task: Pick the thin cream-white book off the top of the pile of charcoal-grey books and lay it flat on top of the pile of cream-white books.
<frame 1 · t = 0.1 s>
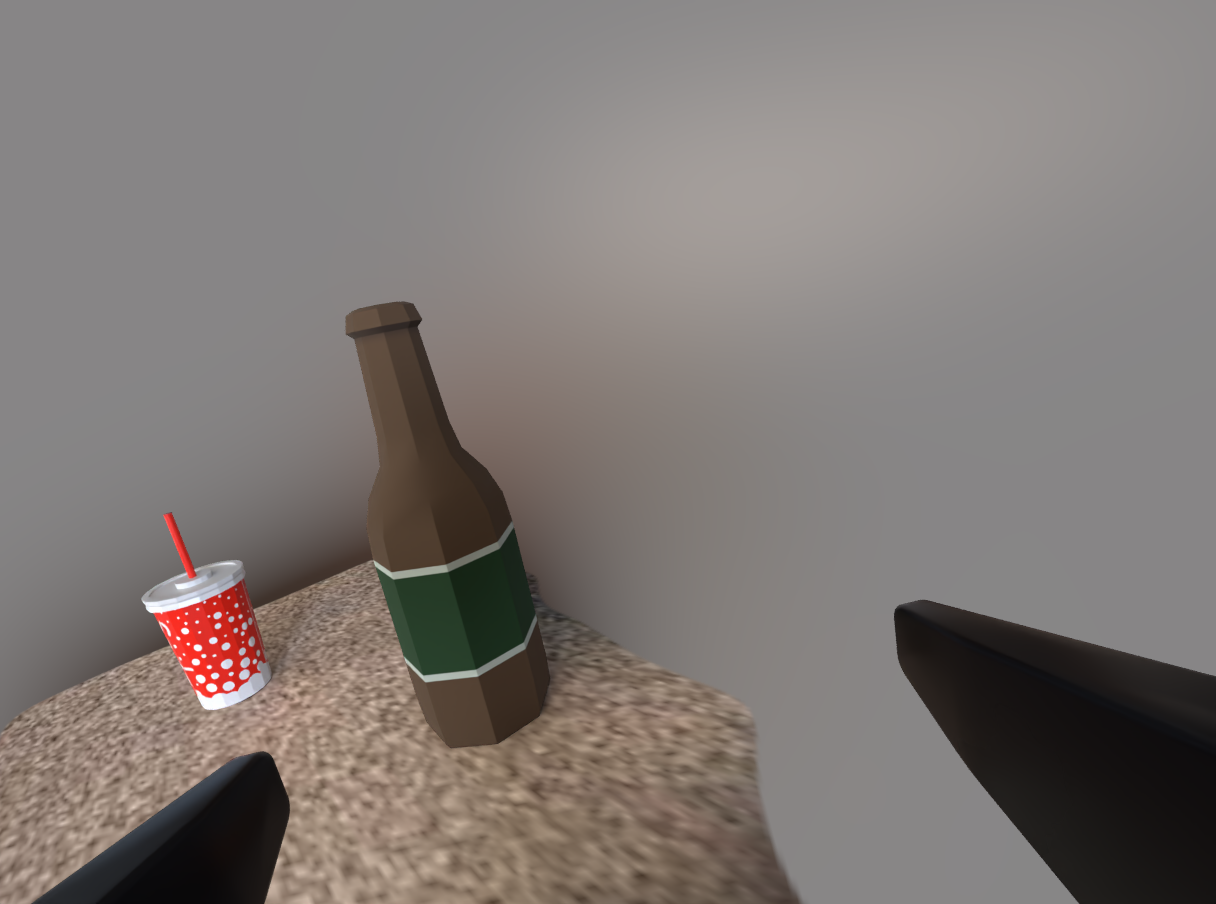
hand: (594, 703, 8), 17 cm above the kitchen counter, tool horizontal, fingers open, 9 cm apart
beverage cup: (238, 690, 44), on the kitchen counter
beer bottle: (492, 708, 36), on the kitchen counter
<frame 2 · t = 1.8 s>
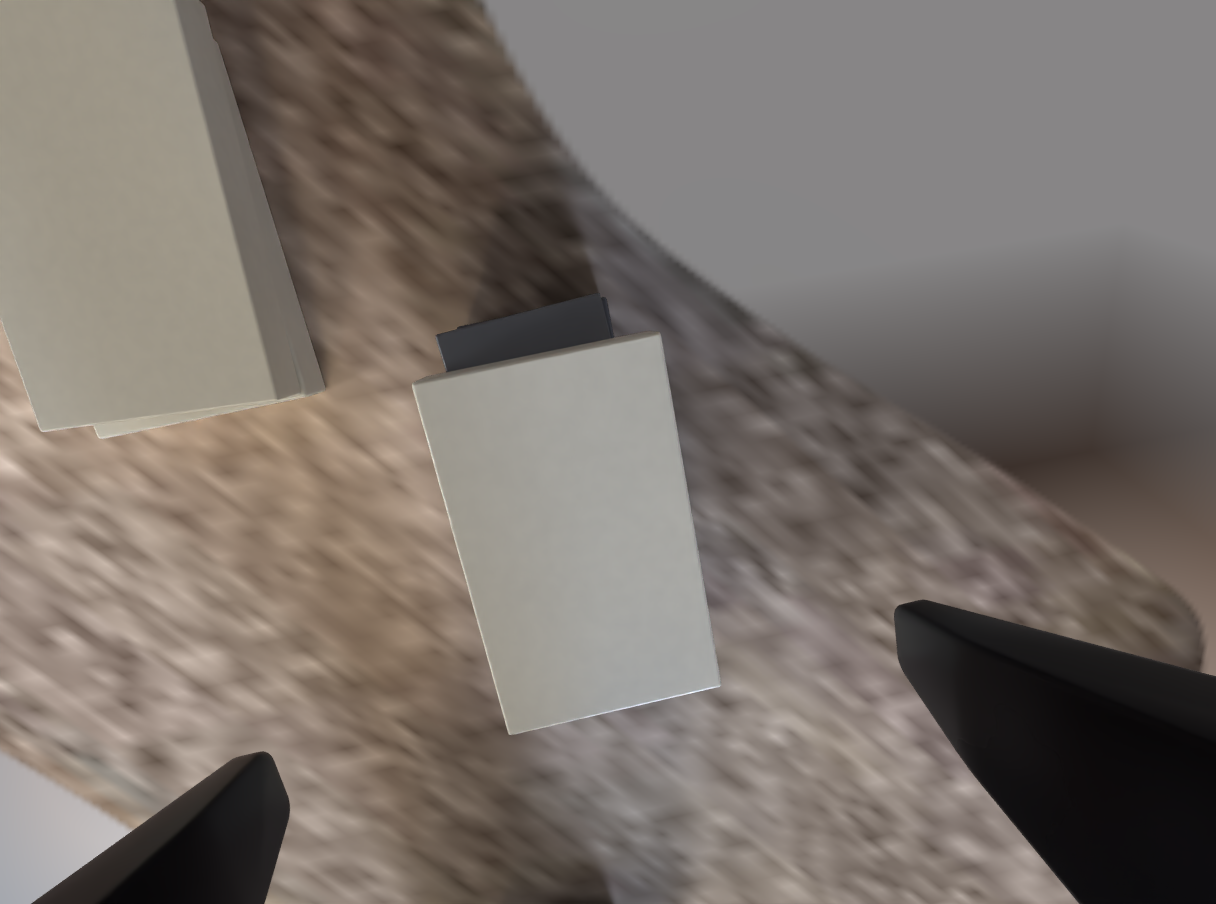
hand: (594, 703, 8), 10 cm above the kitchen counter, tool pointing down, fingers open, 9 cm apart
white pile: (174, 247, 16), on the kitchen counter
white book: (577, 527, 15), point 3 cm above the kitchen counter, touching grey pile
grey pile: (573, 491, 18), on the kitchen counter, touching white book
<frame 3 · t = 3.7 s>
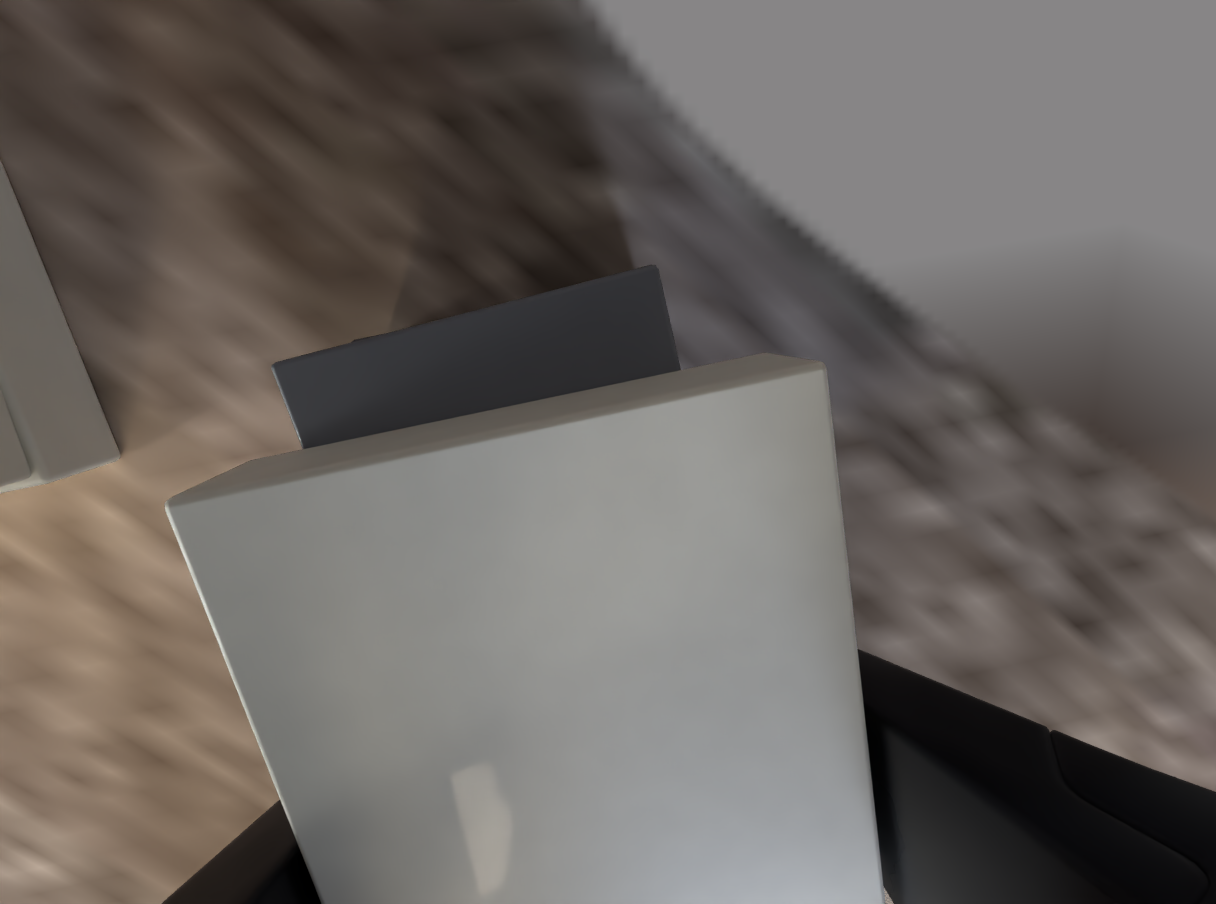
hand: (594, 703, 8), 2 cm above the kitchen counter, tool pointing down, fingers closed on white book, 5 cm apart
white book: (599, 764, 7), point 3 cm above the kitchen counter, touching grey pile, gripper
grey pile: (586, 629, 10), on the kitchen counter, touching white book
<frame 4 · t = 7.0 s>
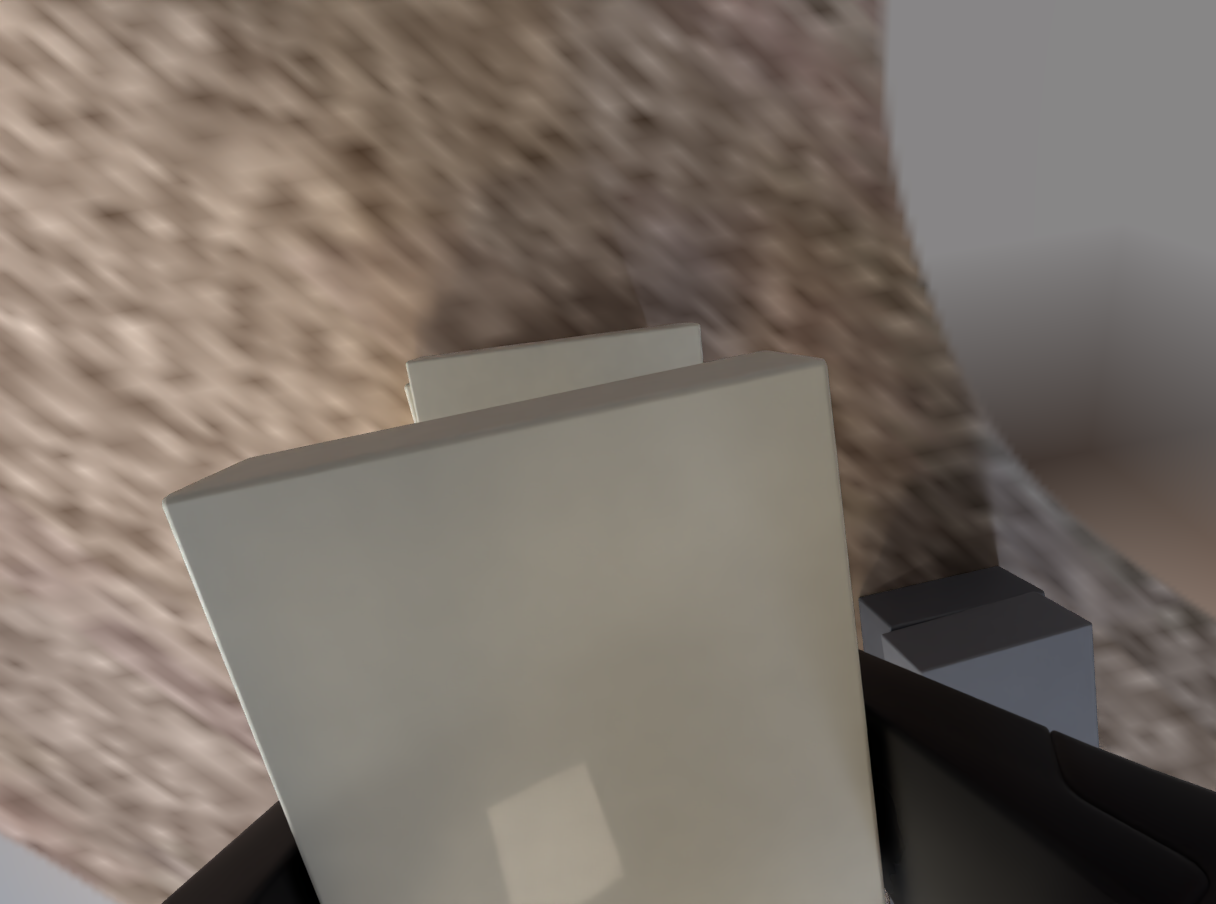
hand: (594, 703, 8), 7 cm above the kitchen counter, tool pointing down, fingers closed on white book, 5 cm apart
white pile: (575, 533, 15), on the kitchen counter
white book: (598, 763, 7), point 8 cm above the kitchen counter, touching gripper
grey pile: (940, 750, 17), on the kitchen counter
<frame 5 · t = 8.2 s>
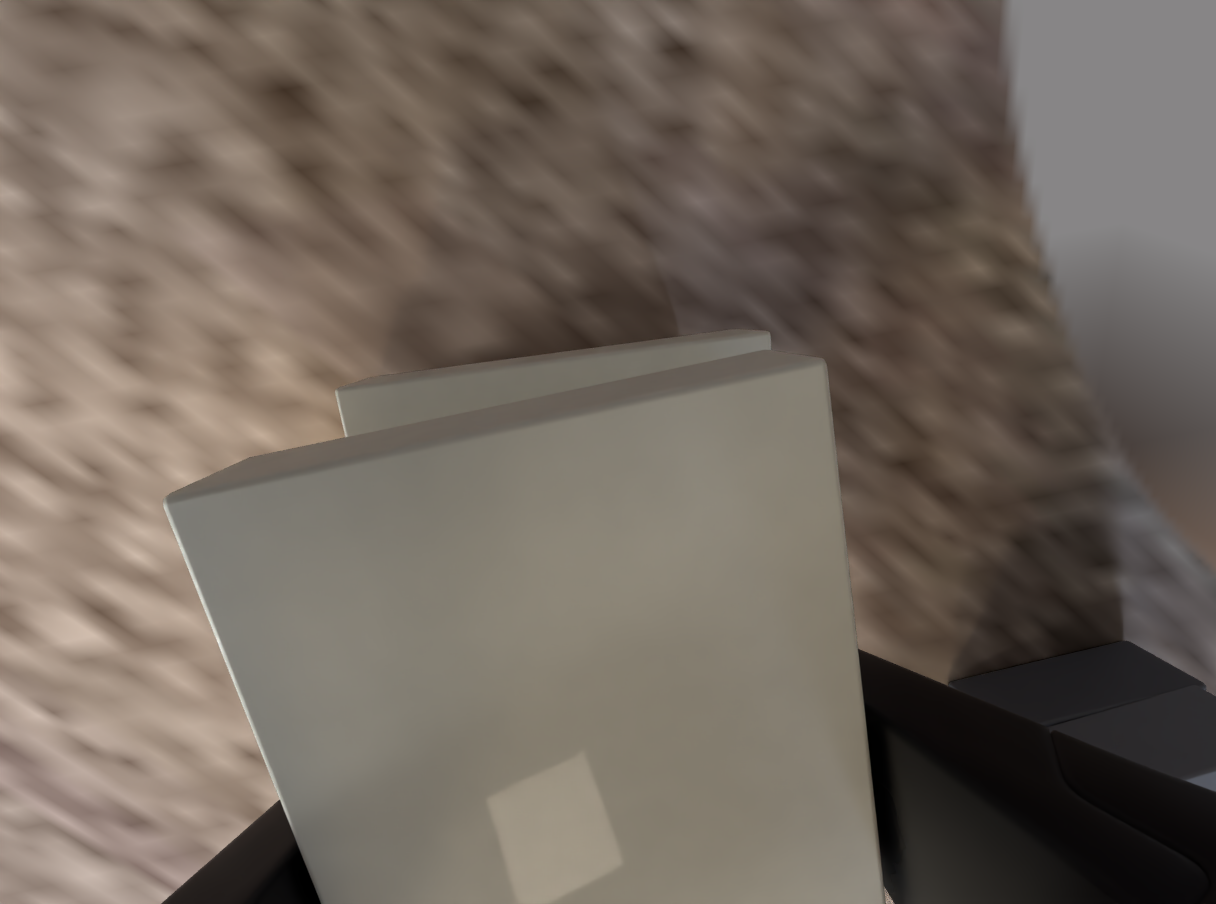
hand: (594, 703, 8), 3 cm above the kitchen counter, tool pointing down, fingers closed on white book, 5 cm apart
white pile: (583, 605, 11), on the kitchen counter
white book: (598, 762, 7), point 4 cm above the kitchen counter, touching gripper
grey pile: (1043, 866, 14), on the kitchen counter
when the fingers open (3 cm above the kitchen counter, at t = 10.4 s): white book drops 1 cm, resting on white pile.
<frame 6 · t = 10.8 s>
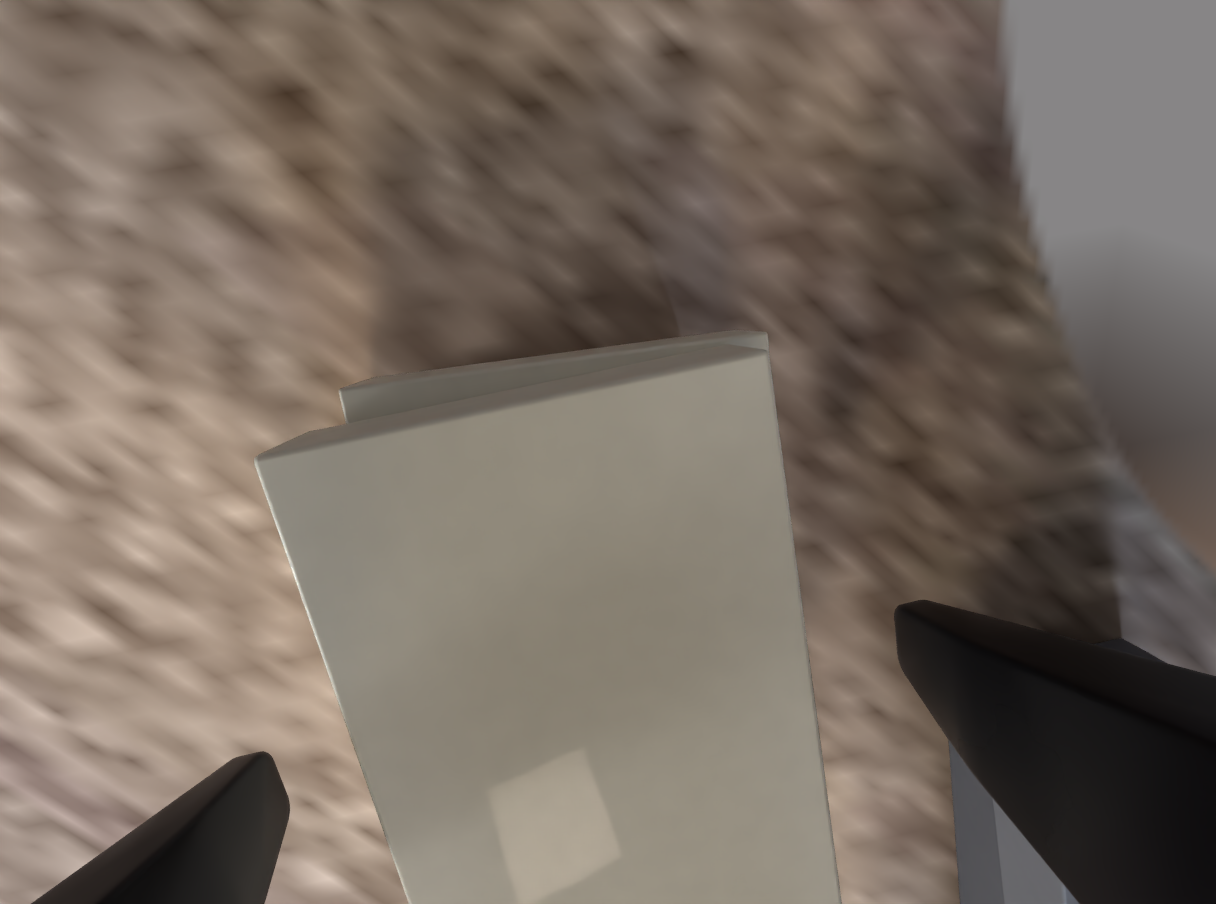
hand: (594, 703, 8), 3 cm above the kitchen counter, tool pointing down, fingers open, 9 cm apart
white pile: (583, 603, 11), on the kitchen counter, touching white book
white book: (592, 691, 9), point 3 cm above the kitchen counter, touching white pile
grey pile: (1038, 862, 14), on the kitchen counter
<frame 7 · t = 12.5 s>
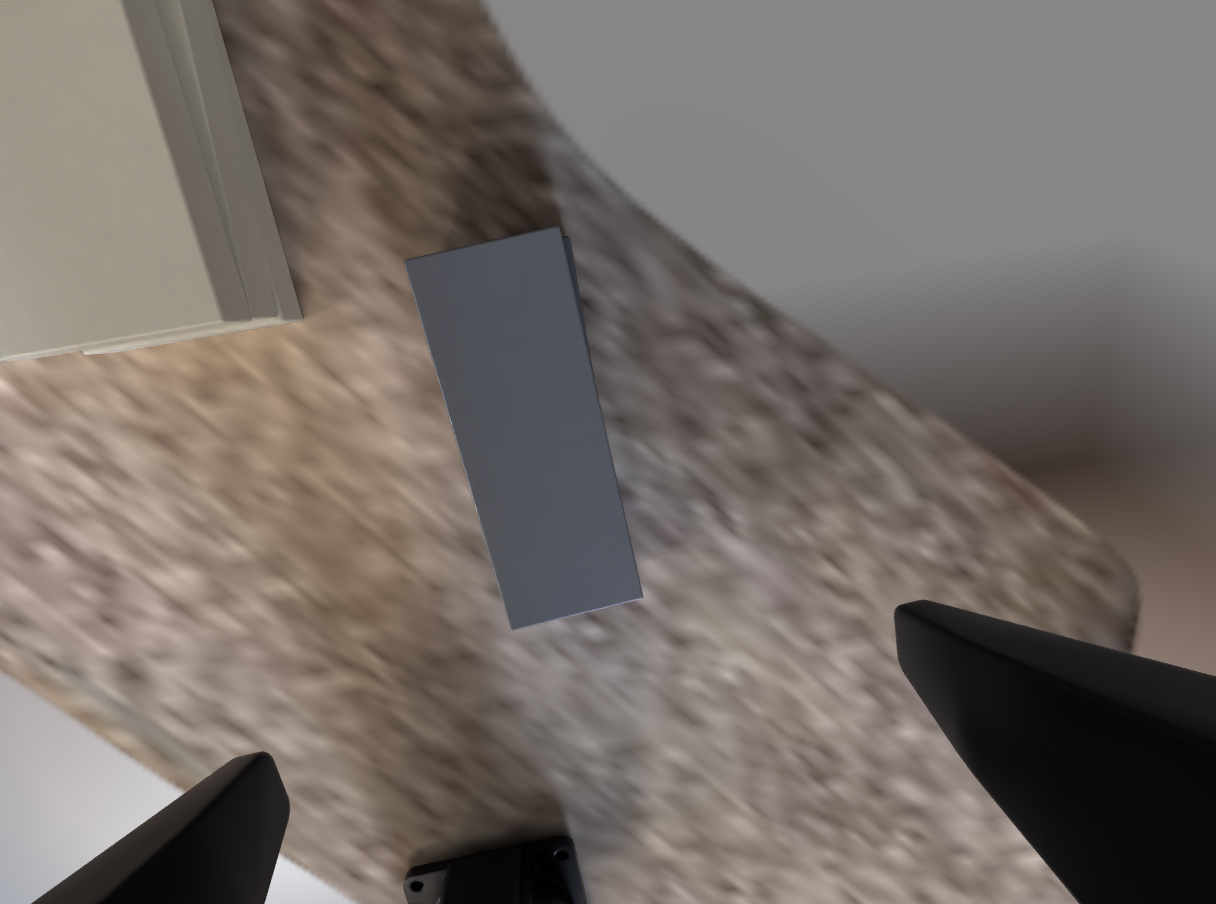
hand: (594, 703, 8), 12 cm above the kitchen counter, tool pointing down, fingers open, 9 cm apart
white pile: (160, 175, 17), on the kitchen counter, touching white book
white book: (76, 148, 14), point 3 cm above the kitchen counter, touching white pile
grey pile: (538, 428, 19), on the kitchen counter
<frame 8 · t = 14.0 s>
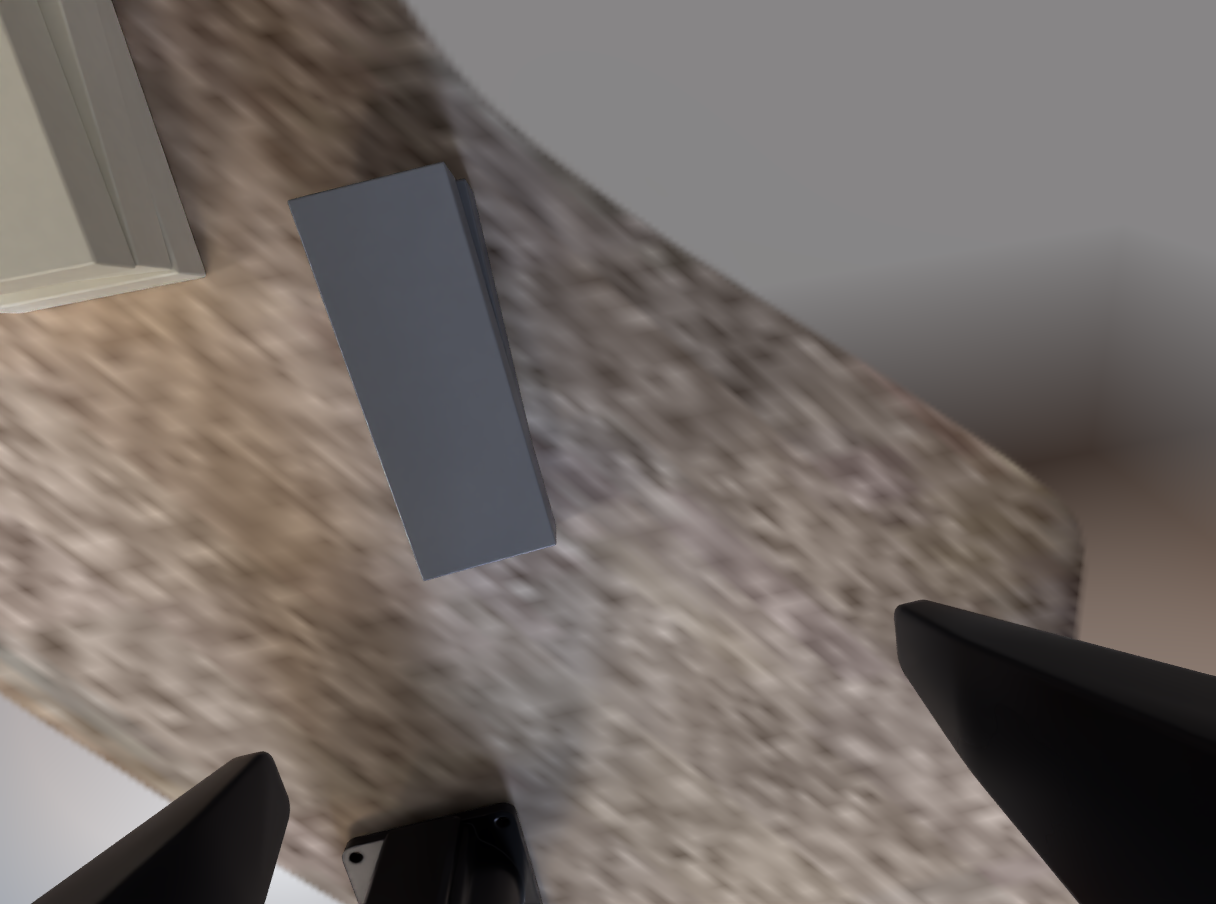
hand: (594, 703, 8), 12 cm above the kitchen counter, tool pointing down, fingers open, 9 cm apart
white pile: (52, 131, 16), on the kitchen counter, touching white book
grey pile: (453, 382, 19), on the kitchen counter
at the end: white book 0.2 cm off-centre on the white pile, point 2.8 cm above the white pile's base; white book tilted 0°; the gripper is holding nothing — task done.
